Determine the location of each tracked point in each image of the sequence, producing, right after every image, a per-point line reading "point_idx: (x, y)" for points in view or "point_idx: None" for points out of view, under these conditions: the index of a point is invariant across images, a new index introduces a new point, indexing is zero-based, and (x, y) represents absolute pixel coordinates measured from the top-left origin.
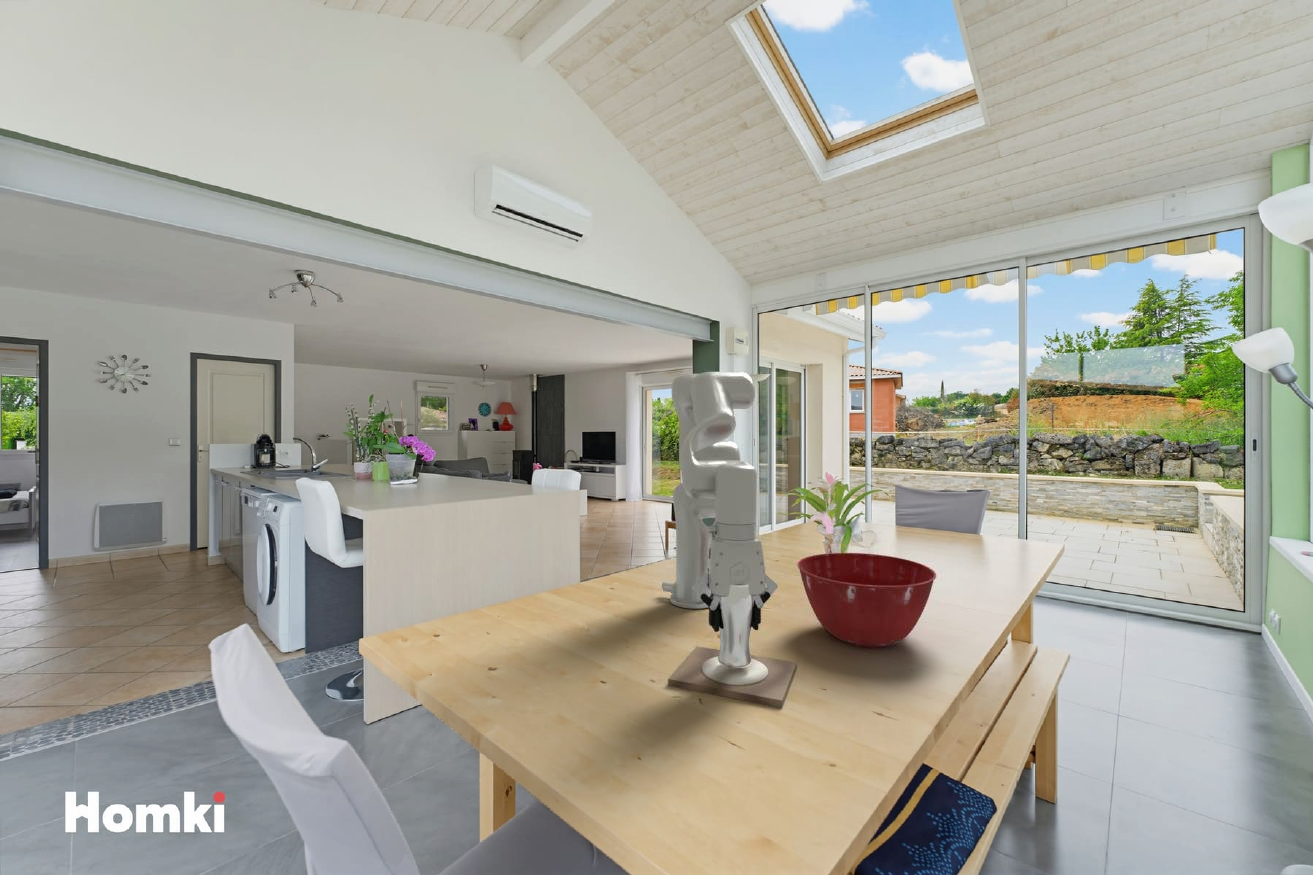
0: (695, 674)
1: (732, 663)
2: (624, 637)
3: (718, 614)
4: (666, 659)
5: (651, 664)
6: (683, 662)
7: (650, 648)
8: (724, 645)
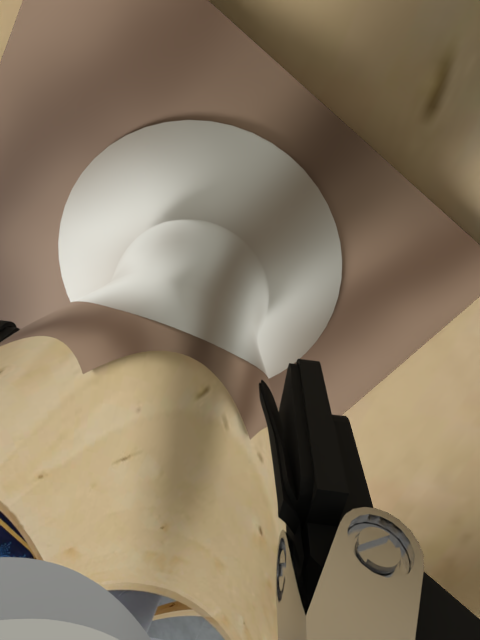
0: (376, 279)
1: (226, 236)
2: (440, 584)
3: (308, 455)
4: (389, 442)
5: (457, 424)
6: (371, 384)
7: (401, 514)
8: (250, 310)
